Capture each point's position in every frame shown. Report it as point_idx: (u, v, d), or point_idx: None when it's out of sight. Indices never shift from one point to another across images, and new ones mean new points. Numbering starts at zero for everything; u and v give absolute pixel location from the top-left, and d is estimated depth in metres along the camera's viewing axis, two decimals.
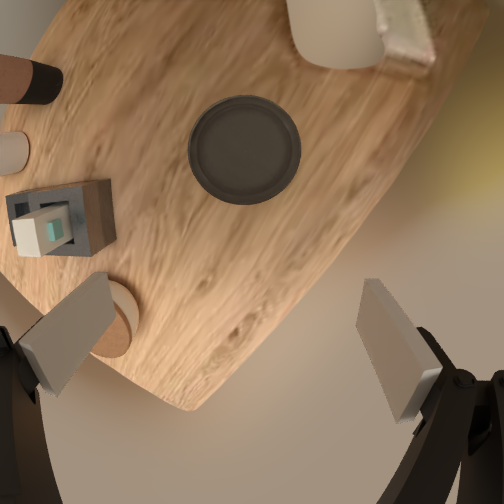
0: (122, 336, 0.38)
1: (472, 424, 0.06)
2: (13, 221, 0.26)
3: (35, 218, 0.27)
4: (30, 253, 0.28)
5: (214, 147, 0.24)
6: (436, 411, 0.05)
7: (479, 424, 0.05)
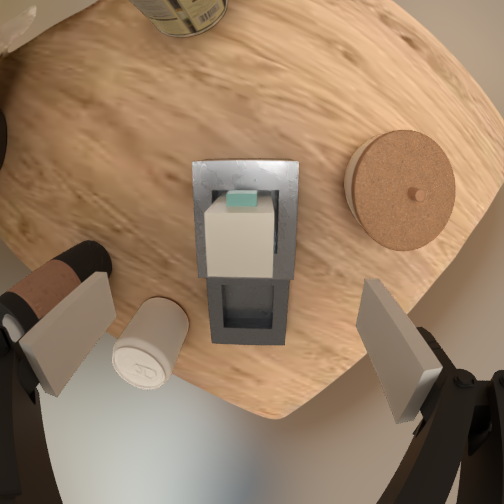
0: (421, 143, 0.23)
1: (472, 424, 0.06)
2: (209, 272, 0.22)
3: (206, 212, 0.21)
4: (266, 241, 0.21)
5: None
6: (436, 411, 0.05)
7: (479, 424, 0.05)
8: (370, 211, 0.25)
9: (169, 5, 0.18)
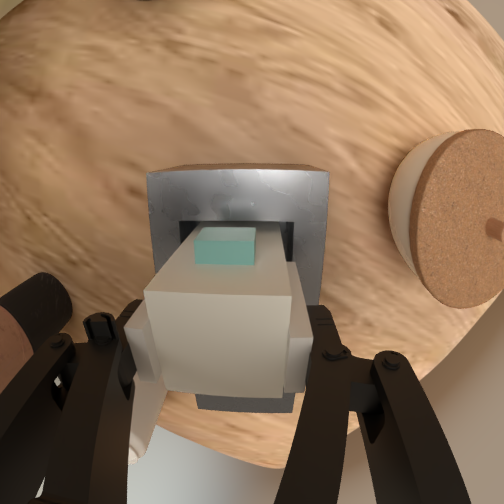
0: None
1: (355, 404, 0.08)
2: (168, 385, 0.11)
3: (150, 286, 0.10)
4: (273, 347, 0.10)
5: None
6: (306, 388, 0.07)
7: (364, 405, 0.08)
8: (437, 256, 0.14)
9: None
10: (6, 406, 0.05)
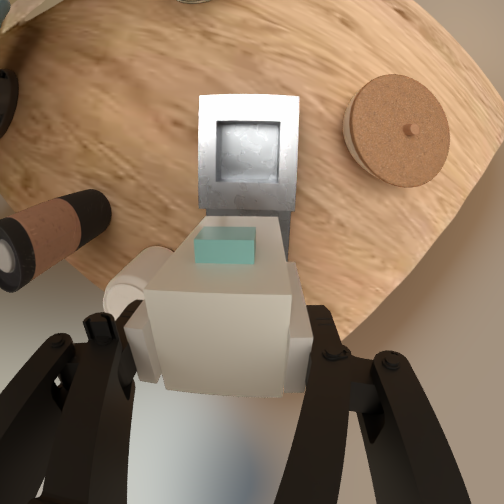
0: (413, 86, 0.22)
1: (355, 403, 0.08)
2: (168, 384, 0.11)
3: (150, 285, 0.10)
4: (273, 346, 0.10)
5: None
6: (306, 388, 0.07)
7: (364, 405, 0.08)
8: (369, 143, 0.25)
9: None
10: (6, 406, 0.05)
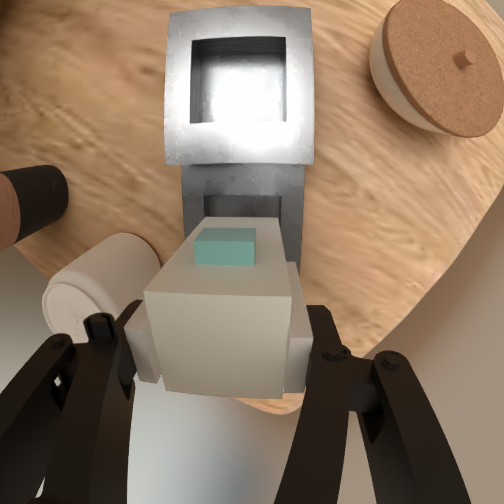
0: (454, 13, 0.11)
1: (356, 404, 0.08)
2: (168, 385, 0.11)
3: (150, 287, 0.10)
4: (273, 348, 0.10)
5: None
6: (306, 388, 0.07)
7: (364, 405, 0.08)
8: (414, 69, 0.14)
9: None
10: (6, 406, 0.05)
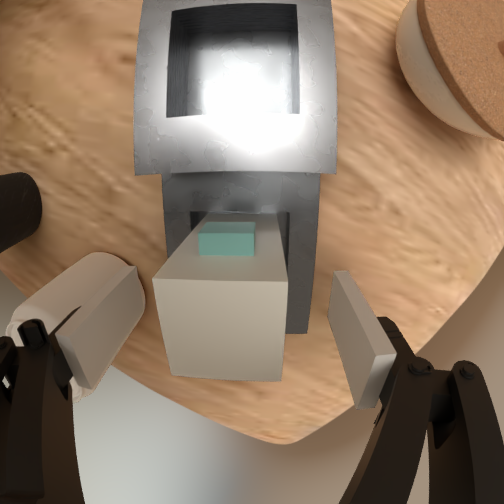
0: None
1: (432, 414, 0.07)
2: (174, 370, 0.12)
3: (158, 275, 0.10)
4: (271, 331, 0.11)
5: None
6: (391, 400, 0.06)
7: (440, 414, 0.06)
8: (460, 54, 0.09)
9: None
10: None
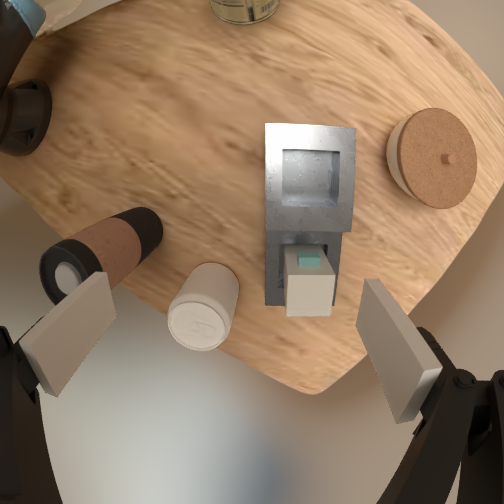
0: (448, 119, 0.25)
1: (472, 424, 0.06)
2: (287, 313, 0.30)
3: (288, 273, 0.29)
4: (328, 293, 0.29)
5: None
6: (436, 411, 0.05)
7: (478, 424, 0.05)
8: (413, 171, 0.28)
9: None
10: None
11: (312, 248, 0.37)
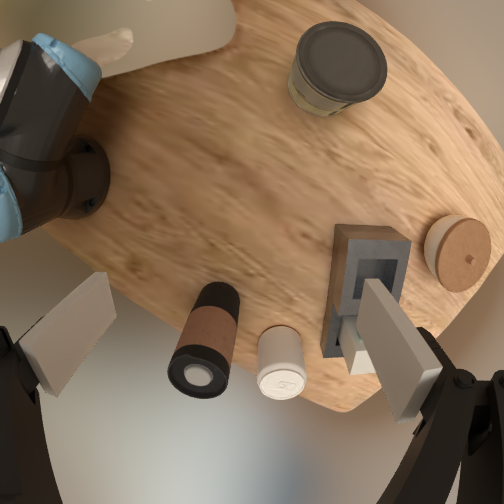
0: (477, 227, 0.33)
1: (472, 424, 0.06)
2: (351, 373, 0.39)
3: (356, 349, 0.38)
4: None
5: (342, 80, 0.25)
6: (436, 411, 0.05)
7: (479, 424, 0.05)
8: (445, 271, 0.36)
9: (339, 107, 0.30)
10: None
11: None
